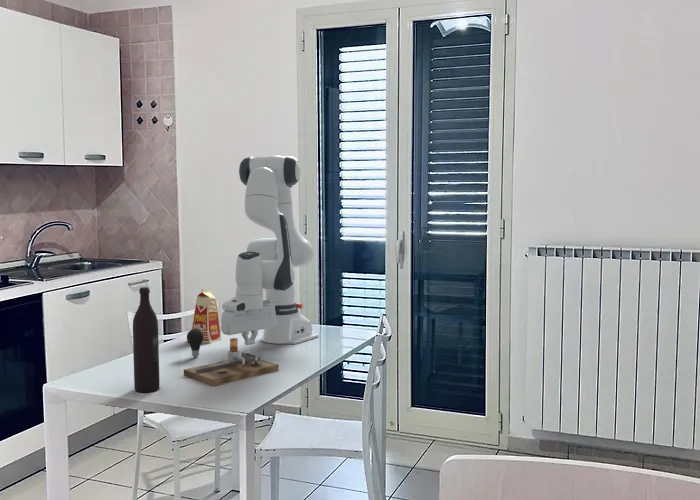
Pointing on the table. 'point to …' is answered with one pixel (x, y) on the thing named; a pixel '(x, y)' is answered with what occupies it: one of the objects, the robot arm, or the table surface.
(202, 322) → the milk carton
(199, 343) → the black light bulb
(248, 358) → the bar
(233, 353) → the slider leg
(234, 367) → the brown wooden board
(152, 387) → the wine bottle
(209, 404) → the table surface
